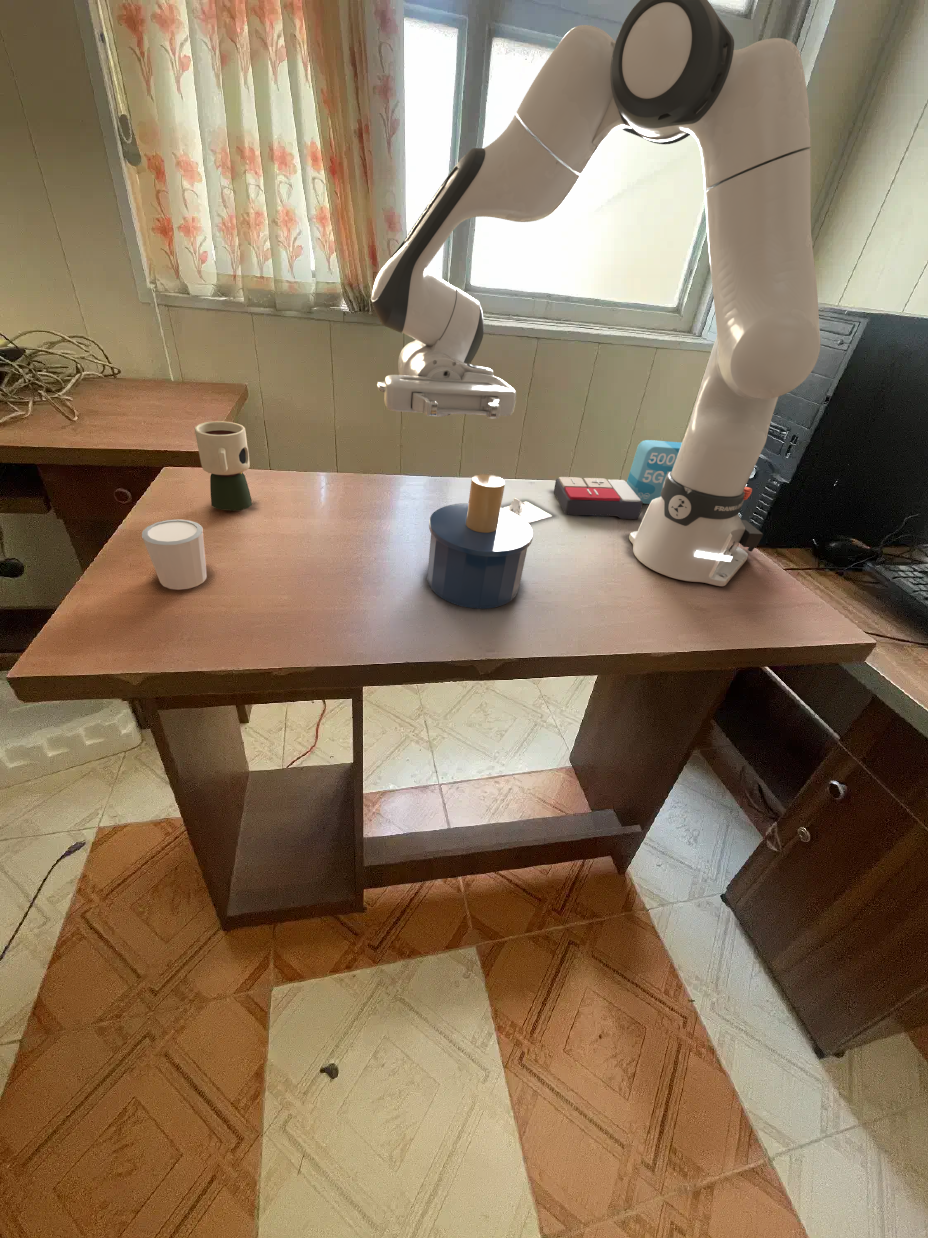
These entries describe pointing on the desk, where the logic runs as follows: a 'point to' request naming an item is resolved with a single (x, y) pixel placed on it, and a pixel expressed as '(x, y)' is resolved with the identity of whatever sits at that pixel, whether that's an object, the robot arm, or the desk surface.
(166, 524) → the white tapered cup
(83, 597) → the desk surface
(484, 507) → the lid
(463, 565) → the pot
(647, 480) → the data package
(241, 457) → the character mug
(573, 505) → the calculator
